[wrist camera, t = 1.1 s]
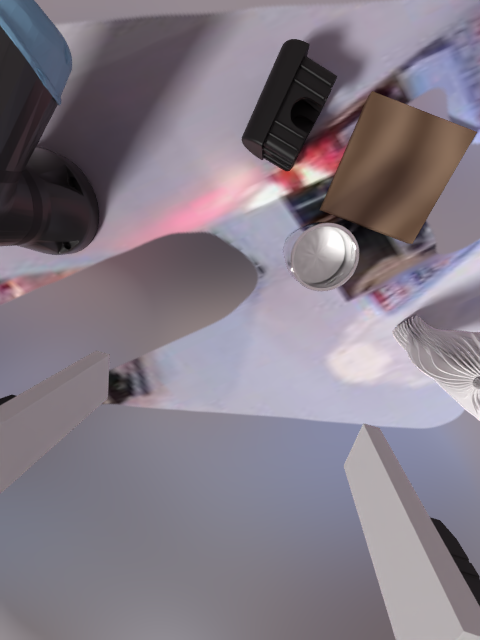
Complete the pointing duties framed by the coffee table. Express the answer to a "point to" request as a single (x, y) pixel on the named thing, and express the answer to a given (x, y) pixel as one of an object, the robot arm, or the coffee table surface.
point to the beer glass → (321, 255)
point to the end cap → (288, 106)
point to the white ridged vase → (445, 359)
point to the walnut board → (395, 167)
